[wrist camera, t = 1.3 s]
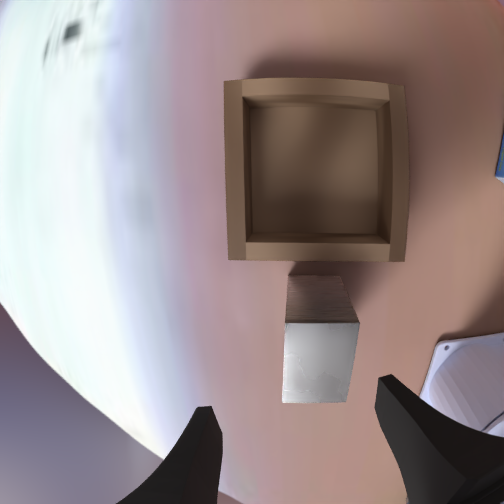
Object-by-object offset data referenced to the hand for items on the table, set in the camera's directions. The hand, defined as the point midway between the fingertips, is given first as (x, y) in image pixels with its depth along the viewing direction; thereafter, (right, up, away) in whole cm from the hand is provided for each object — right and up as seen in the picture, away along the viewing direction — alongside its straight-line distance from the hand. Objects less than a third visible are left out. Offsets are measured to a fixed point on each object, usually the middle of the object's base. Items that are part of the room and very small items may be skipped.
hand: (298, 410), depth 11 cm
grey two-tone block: (+2, +3, +9) cm, 10 cm away
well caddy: (+2, +12, +7) cm, 14 cm away
